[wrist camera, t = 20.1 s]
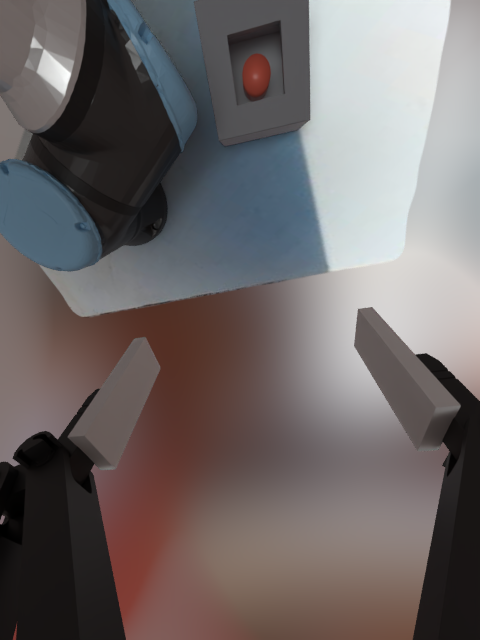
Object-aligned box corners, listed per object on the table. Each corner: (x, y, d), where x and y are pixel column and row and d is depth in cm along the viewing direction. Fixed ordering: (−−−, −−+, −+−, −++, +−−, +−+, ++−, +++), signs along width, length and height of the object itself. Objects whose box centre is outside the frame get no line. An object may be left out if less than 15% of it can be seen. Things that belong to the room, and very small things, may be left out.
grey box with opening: (224, 146, 39) (218, 140, 31) (206, 41, 33) (193, 1, 25) (297, 129, 38) (310, 119, 30) (293, 16, 31) (308, -34, 23)
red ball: (245, 104, 35) (244, 96, 31) (241, 70, 33) (240, 57, 29) (269, 98, 34) (272, 89, 30) (266, 63, 32) (269, 49, 29)
